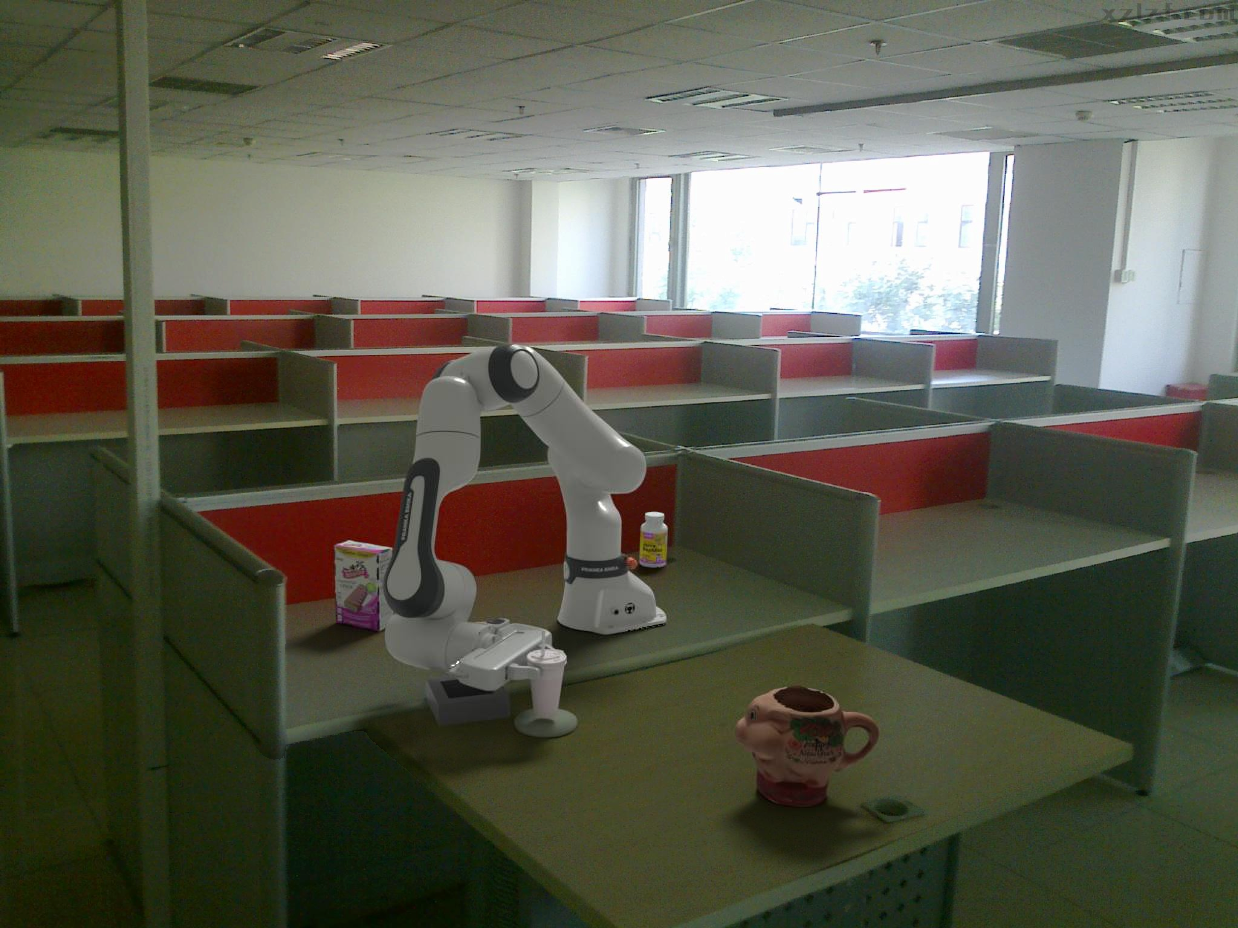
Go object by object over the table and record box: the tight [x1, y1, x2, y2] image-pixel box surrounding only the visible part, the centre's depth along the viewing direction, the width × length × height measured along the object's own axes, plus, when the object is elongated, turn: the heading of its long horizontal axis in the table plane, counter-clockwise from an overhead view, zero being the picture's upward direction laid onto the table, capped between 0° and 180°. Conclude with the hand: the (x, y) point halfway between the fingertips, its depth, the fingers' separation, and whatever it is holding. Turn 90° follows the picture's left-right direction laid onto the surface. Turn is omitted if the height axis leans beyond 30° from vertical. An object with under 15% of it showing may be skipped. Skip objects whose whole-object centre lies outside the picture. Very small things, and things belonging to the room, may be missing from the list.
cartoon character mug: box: [734, 685, 880, 808], centre depth 149 cm, size 20×12×14 cm, turn 94°
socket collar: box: [425, 675, 511, 727], centre depth 175 cm, size 12×12×4 cm
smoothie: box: [526, 628, 568, 719], centre depth 169 cm, size 6×6×14 cm
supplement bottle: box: [638, 511, 668, 569], centre depth 262 cm, size 7×7×13 cm
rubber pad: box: [513, 708, 578, 739], centre depth 170 cm, size 10×10×1 cm
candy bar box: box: [333, 539, 394, 632], centre depth 213 cm, size 11×5×16 cm, turn 65°
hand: (551, 665), depth 168 cm, fingers closed on smoothie, 6 cm apart
